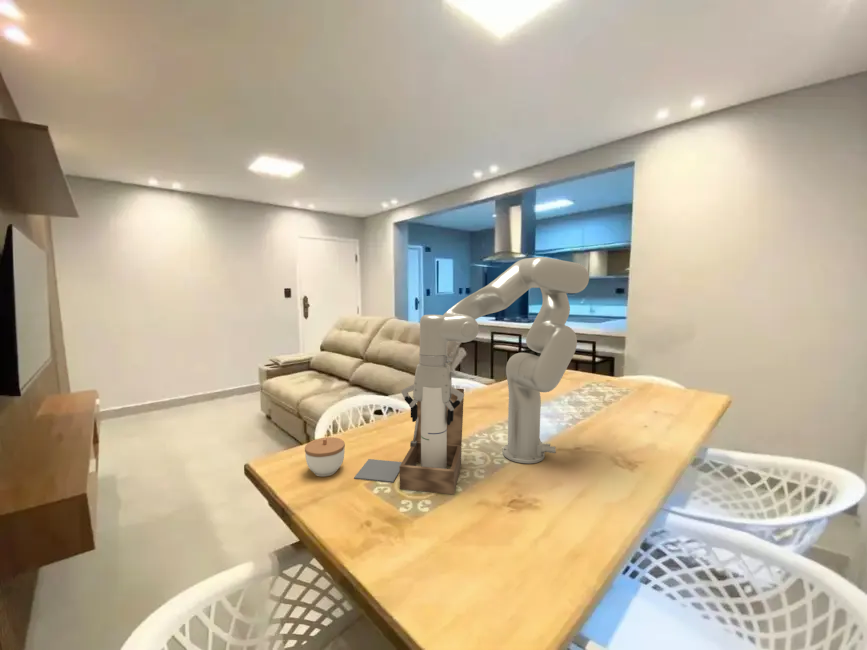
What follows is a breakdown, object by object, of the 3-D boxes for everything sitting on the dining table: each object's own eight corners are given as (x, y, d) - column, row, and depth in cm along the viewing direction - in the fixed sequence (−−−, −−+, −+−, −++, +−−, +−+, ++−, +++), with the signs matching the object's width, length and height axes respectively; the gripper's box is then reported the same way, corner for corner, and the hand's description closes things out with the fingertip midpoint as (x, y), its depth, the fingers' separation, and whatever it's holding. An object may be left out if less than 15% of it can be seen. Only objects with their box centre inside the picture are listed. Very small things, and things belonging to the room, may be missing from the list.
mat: (404, 463, 109) (404, 462, 109) (393, 482, 98) (393, 481, 98) (368, 460, 111) (368, 459, 111) (354, 478, 100) (354, 477, 100)
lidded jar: (304, 466, 107) (303, 435, 106) (341, 459, 112) (341, 429, 111) (307, 484, 98) (306, 450, 97) (348, 476, 102) (347, 443, 101)
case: (463, 455, 114) (464, 388, 112) (453, 494, 93) (454, 412, 91) (418, 451, 117) (417, 385, 115) (398, 488, 95) (397, 408, 93)
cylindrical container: (444, 480, 100) (444, 389, 97) (418, 477, 101) (417, 387, 99) (448, 467, 107) (448, 382, 104) (424, 465, 108) (423, 380, 105)
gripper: (466, 359, 103) (464, 420, 104) (405, 356, 106) (405, 414, 107) (463, 364, 95) (461, 429, 97) (398, 361, 98) (397, 423, 100)
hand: (431, 421), depth 102 cm, fingers open, 9 cm apart
